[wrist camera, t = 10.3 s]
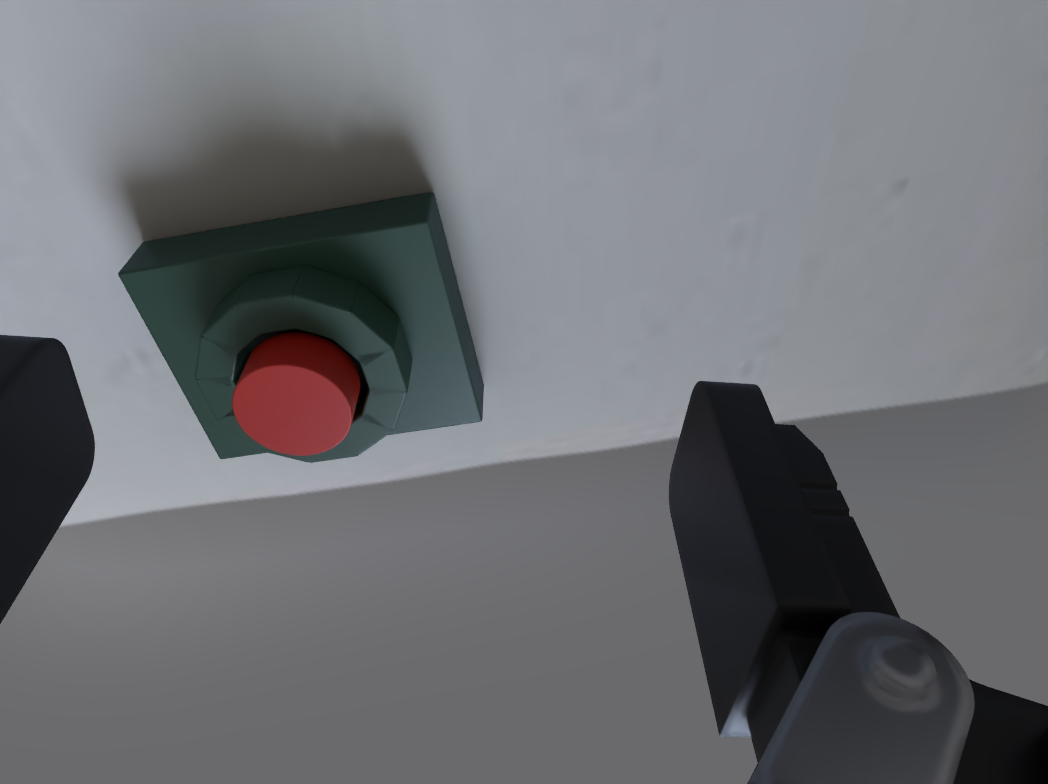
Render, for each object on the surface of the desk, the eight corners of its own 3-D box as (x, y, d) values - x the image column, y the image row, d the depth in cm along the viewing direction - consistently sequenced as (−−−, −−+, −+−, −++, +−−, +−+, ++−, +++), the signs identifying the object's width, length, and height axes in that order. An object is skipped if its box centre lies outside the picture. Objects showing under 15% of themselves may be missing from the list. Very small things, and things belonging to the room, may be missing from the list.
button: (340, 323, 24) (330, 356, 23) (374, 412, 26) (366, 447, 25) (228, 341, 25) (212, 374, 23) (271, 428, 27) (258, 463, 25)
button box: (433, 190, 26) (422, 248, 22) (484, 385, 30) (481, 455, 27) (142, 241, 26) (91, 303, 23) (235, 422, 31) (204, 494, 28)
